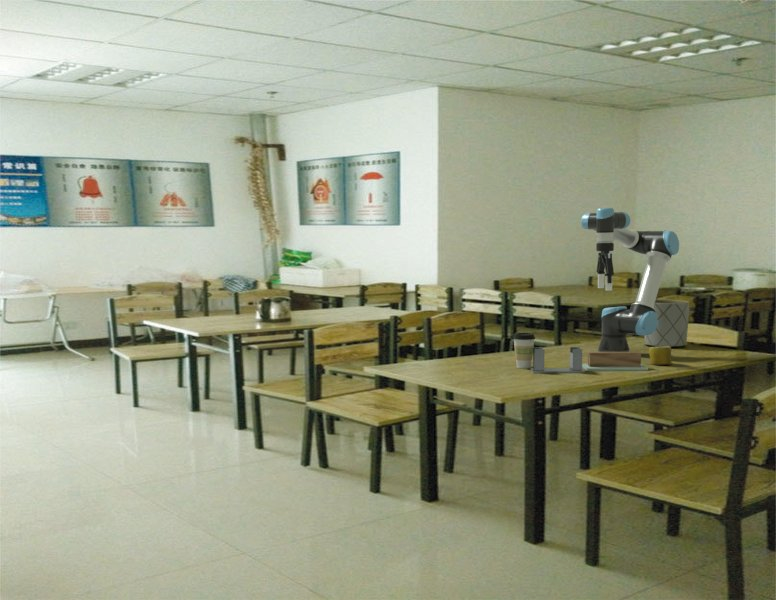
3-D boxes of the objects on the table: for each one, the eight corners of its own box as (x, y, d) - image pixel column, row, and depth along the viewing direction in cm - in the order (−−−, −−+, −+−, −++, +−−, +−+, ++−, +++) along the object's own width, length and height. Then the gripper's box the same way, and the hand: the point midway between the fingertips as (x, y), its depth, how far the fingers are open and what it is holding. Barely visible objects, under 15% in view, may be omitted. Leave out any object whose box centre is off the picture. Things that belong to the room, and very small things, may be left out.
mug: (677, 362, 333) (669, 341, 335) (654, 369, 335) (646, 347, 337) (674, 363, 345) (667, 342, 346) (652, 369, 347) (644, 349, 349)
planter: (665, 350, 380) (666, 304, 378) (633, 344, 401) (633, 300, 399) (698, 347, 390) (699, 301, 388) (665, 341, 410) (666, 298, 408)
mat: (581, 365, 338) (581, 363, 338) (640, 365, 337) (640, 363, 337) (587, 370, 326) (587, 368, 326) (648, 370, 325) (648, 368, 325)
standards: (530, 369, 330) (530, 347, 330) (581, 369, 329) (581, 346, 329) (532, 373, 322) (533, 349, 322) (584, 372, 321) (585, 349, 321)
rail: (587, 365, 334) (587, 351, 334) (638, 365, 333) (638, 351, 333) (589, 366, 330) (589, 353, 330) (640, 366, 329) (641, 352, 329)
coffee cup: (523, 370, 330) (523, 336, 328) (508, 366, 338) (508, 333, 337) (539, 367, 335) (539, 334, 334) (524, 364, 343) (524, 332, 342)
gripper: (589, 242, 352) (589, 287, 354) (603, 243, 327) (603, 291, 329) (606, 241, 352) (605, 287, 354) (621, 242, 327) (621, 291, 329)
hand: (604, 289), depth 341 cm, fingers open, 13 cm apart
